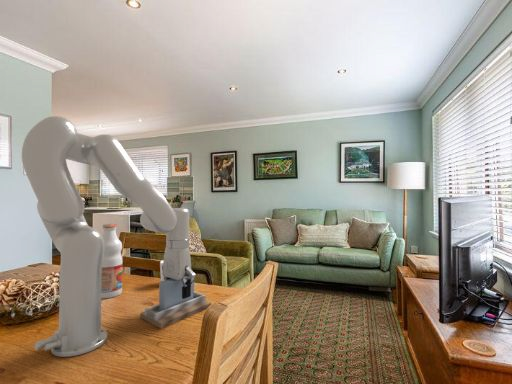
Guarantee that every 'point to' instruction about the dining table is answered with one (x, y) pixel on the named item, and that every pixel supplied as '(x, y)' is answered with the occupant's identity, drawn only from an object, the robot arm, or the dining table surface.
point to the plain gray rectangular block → (172, 293)
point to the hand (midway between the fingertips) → (177, 294)
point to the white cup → (161, 270)
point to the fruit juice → (111, 263)
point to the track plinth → (175, 311)
